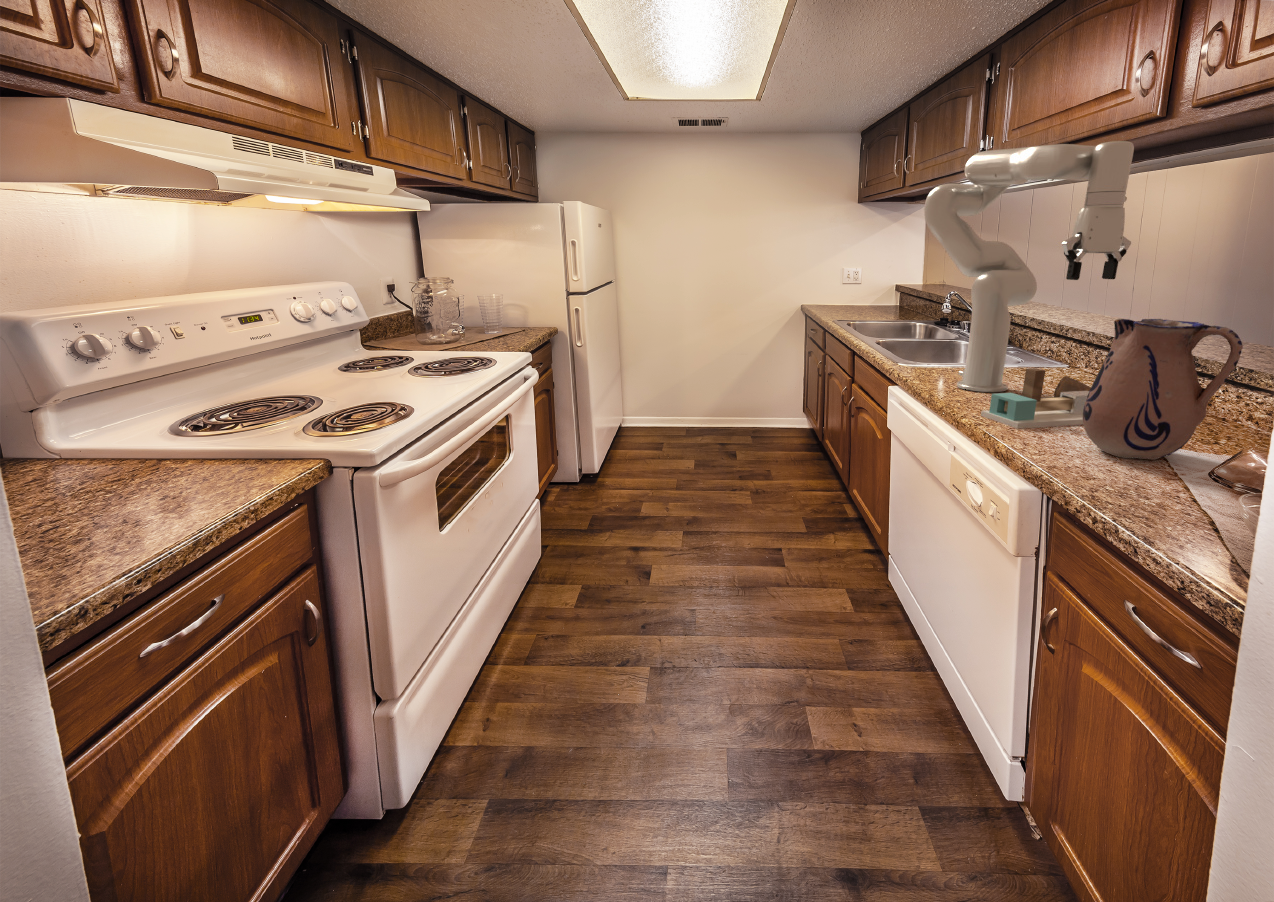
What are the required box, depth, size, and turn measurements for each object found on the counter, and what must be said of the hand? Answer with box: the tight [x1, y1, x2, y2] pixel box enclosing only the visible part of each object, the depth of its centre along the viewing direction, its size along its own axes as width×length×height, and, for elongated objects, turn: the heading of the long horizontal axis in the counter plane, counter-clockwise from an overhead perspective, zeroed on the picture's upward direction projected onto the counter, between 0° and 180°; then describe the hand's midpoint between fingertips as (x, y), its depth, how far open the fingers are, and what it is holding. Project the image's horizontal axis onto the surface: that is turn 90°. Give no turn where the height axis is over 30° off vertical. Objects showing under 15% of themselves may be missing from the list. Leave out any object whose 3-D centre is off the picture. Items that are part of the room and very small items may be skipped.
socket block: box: [989, 392, 1037, 421], centre depth 155 cm, size 5×8×4 cm, turn 11°
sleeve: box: [1058, 391, 1089, 415], centre depth 158 cm, size 7×4×4 cm, turn 101°
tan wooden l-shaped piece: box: [1004, 367, 1073, 412], centre depth 155 cm, size 17×3×9 cm, turn 101°
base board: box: [980, 409, 1084, 429], centre depth 157 cm, size 26×12×1 cm, turn 101°
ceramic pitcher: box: [1083, 318, 1244, 461], centre depth 127 cm, size 18×21×25 cm
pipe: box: [1053, 375, 1092, 398], centre depth 174 cm, size 6×17×10 cm
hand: (1090, 279), depth 161 cm, fingers open, 9 cm apart
